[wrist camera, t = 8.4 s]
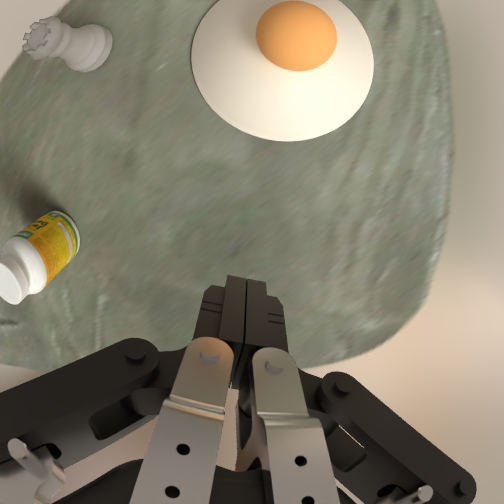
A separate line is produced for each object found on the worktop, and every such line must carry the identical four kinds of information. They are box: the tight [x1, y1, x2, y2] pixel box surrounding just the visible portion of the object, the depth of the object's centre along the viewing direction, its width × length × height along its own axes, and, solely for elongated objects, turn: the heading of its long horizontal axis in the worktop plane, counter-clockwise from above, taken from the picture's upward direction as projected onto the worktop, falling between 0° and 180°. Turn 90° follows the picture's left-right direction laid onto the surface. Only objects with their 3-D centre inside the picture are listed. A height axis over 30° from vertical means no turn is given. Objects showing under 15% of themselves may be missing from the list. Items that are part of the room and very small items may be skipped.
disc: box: [191, 0, 374, 141], centre depth 18 cm, size 14×14×1 cm
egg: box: [256, 0, 337, 71], centre depth 15 cm, size 5×5×5 cm
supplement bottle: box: [0, 211, 80, 304], centre depth 21 cm, size 5×5×10 cm
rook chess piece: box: [22, 16, 113, 73], centre depth 14 cm, size 4×4×8 cm
